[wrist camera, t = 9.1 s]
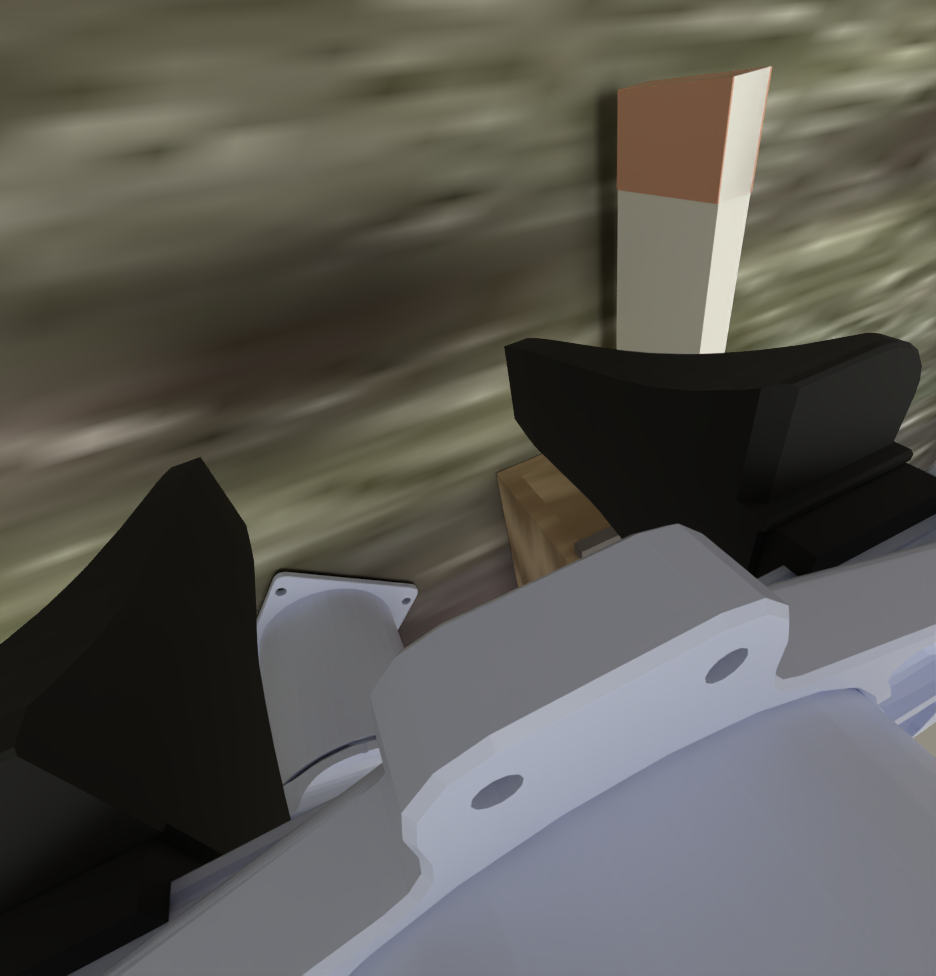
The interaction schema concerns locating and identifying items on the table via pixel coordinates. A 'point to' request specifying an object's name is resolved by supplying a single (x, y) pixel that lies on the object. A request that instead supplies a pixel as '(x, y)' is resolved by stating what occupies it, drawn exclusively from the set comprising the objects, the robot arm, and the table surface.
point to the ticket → (684, 206)
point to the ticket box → (548, 519)
